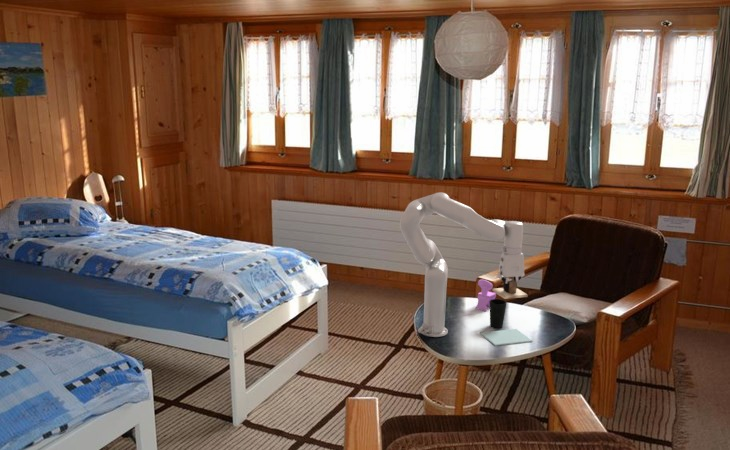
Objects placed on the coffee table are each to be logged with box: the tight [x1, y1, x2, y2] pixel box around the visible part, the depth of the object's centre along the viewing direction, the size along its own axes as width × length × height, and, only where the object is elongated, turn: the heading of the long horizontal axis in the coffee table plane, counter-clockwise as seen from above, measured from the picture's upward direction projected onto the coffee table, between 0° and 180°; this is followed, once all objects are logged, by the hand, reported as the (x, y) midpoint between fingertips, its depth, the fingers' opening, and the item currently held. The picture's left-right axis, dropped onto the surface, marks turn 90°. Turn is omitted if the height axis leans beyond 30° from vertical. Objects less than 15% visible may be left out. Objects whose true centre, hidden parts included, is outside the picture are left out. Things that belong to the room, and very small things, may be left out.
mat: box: [480, 328, 533, 347], centre depth 288 cm, size 18×14×1 cm
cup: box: [489, 298, 507, 330], centre depth 300 cm, size 8×8×12 cm
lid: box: [491, 278, 529, 300], centre depth 283 cm, size 11×11×6 cm
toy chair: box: [475, 279, 497, 312], centre depth 325 cm, size 8×9×15 cm
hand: (509, 290), depth 284 cm, fingers closed on lid, 3 cm apart
